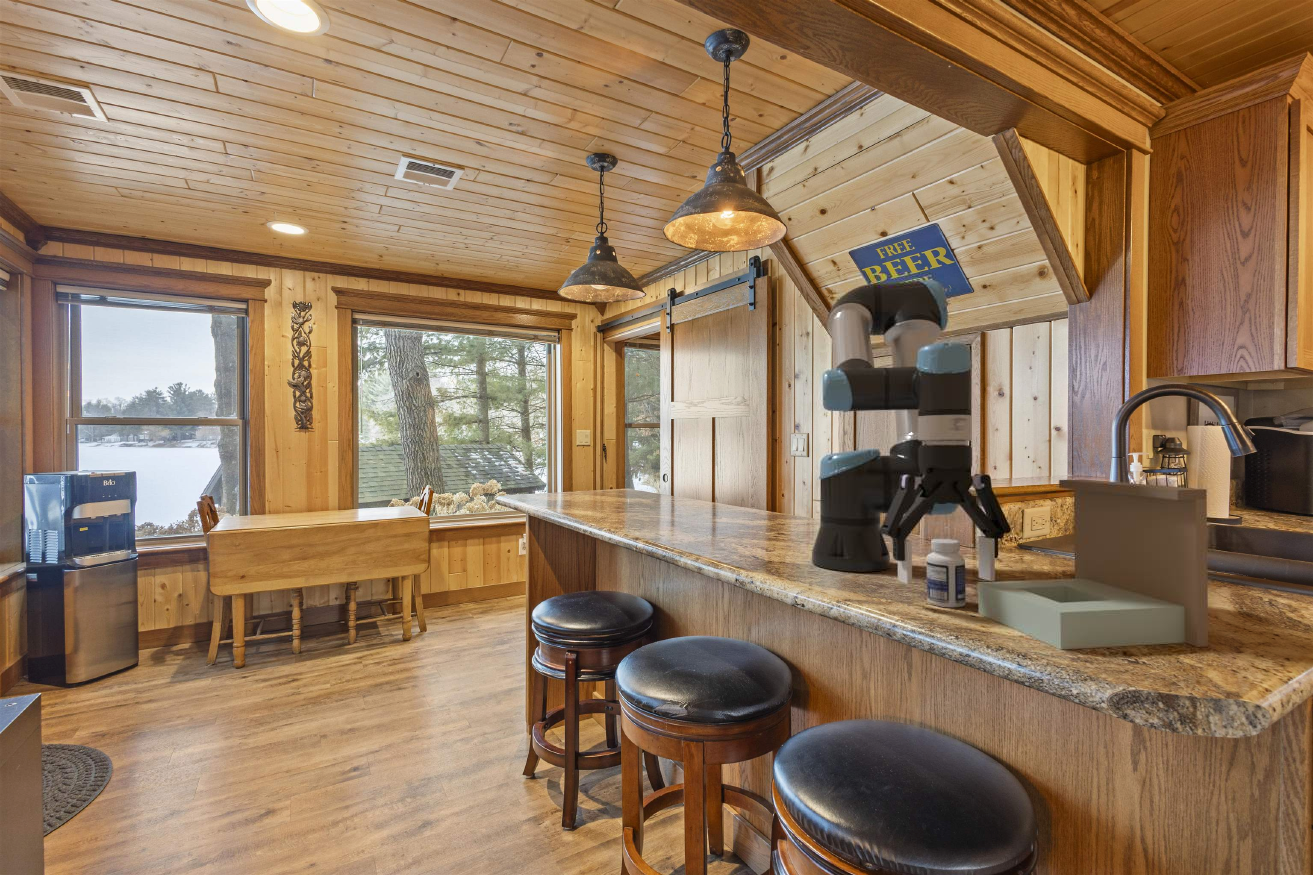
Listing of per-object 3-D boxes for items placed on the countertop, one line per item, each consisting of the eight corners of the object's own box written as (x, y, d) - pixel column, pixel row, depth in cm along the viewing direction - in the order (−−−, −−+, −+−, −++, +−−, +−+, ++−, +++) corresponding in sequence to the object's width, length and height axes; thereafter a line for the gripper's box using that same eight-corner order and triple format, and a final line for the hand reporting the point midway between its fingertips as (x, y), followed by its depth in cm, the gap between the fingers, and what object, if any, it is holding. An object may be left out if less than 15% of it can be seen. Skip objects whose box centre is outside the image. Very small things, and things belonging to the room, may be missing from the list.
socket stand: (971, 610, 88) (970, 481, 88) (1084, 604, 90) (1082, 479, 90) (1070, 654, 70) (1069, 492, 70) (1208, 646, 72) (1206, 489, 72)
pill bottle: (957, 598, 94) (956, 537, 94) (971, 608, 88) (971, 543, 88) (921, 598, 94) (921, 537, 94) (934, 607, 89) (933, 543, 89)
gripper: (880, 443, 86) (882, 588, 86) (1036, 443, 89) (1038, 583, 89) (857, 444, 94) (858, 577, 93) (1001, 443, 97) (1003, 572, 96)
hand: (946, 580), depth 91 cm, fingers open, 13 cm apart
